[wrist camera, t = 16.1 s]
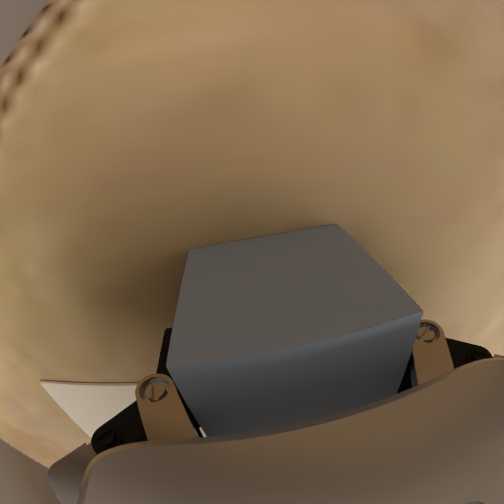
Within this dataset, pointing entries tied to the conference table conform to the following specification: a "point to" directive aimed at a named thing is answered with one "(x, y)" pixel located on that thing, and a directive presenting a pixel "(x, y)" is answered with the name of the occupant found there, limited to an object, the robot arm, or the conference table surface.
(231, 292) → the cube
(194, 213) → the conference table surface
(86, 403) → the letter
